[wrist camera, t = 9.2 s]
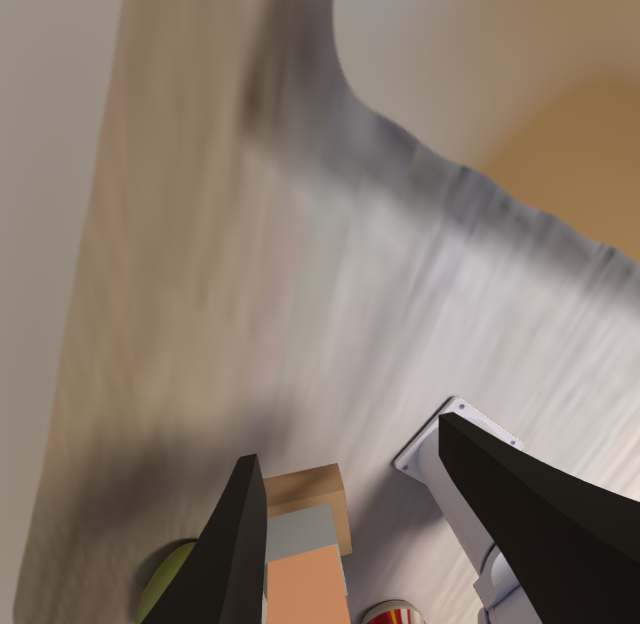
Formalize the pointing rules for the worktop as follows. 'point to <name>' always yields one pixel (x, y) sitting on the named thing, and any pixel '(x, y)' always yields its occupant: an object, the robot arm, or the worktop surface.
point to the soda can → (394, 614)
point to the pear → (162, 580)
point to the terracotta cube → (307, 589)
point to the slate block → (300, 535)
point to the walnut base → (311, 497)
